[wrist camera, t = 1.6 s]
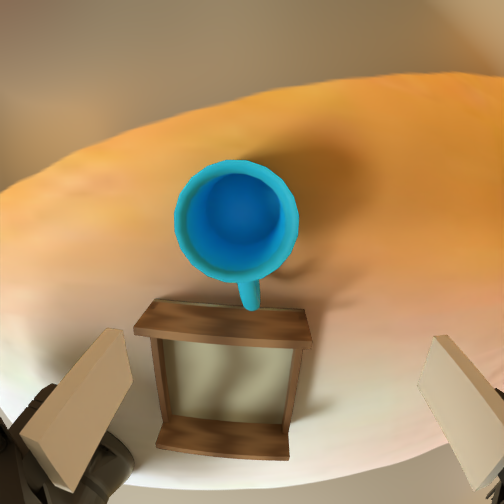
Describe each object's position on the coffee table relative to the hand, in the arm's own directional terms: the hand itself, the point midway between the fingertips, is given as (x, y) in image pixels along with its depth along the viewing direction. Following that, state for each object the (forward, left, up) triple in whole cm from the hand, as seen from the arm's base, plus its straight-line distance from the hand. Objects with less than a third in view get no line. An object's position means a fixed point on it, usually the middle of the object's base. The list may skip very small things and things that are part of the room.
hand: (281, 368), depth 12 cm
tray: (-4, -14, -18) cm, 23 cm away
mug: (-2, +2, -18) cm, 18 cm away
